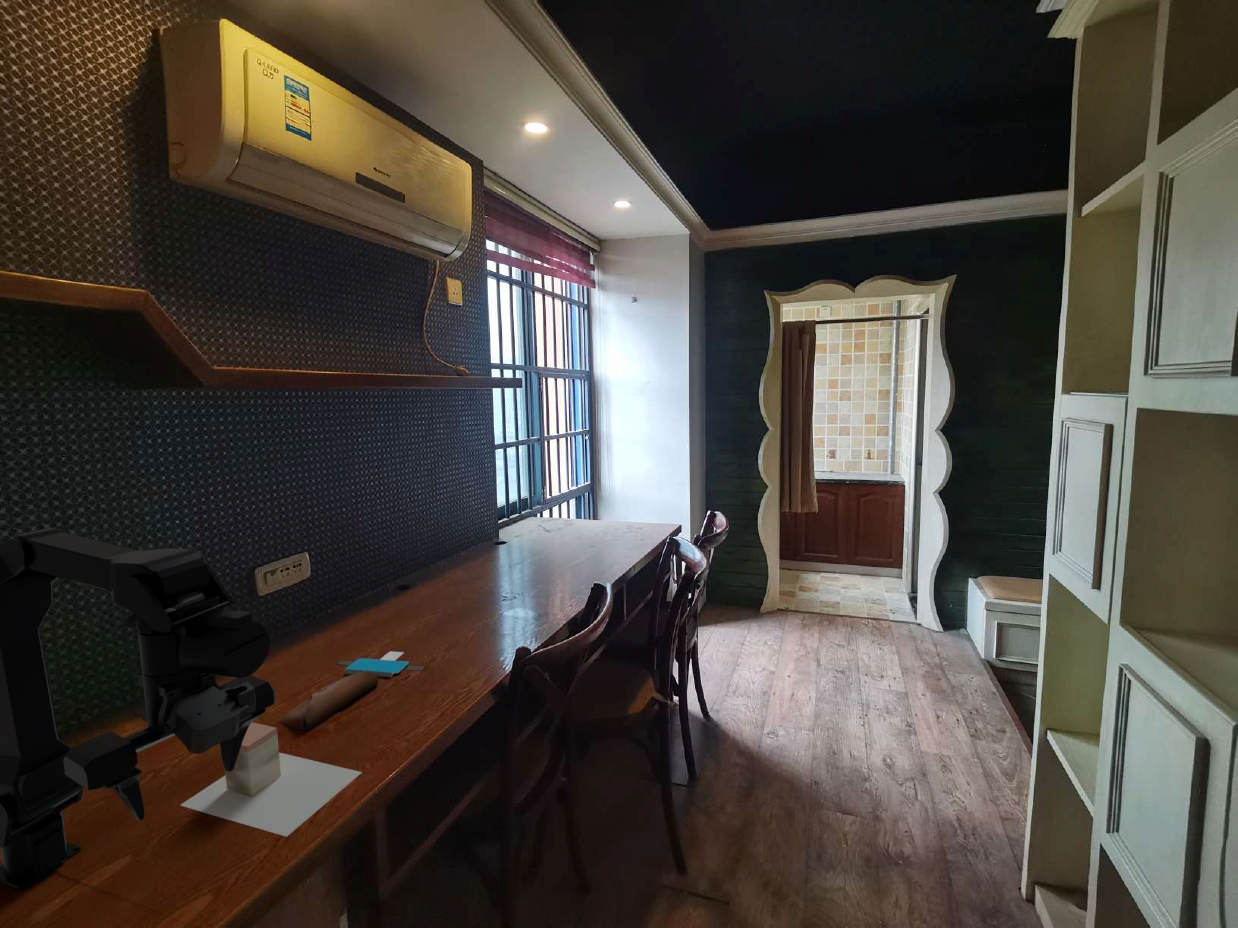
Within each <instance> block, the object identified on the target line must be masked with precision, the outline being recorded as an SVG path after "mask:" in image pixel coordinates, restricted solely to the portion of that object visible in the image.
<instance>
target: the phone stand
mask: <svg viewBox="0 0 1238 928" xmlns="http://www.w3.org/2000/svg"><path fill="white" fill-rule="evenodd" d="M403 654H405V652H404V651H402V652H401V651H388V652H387V653H386V654H384V656H382V657H380V659H377V658H374V659H373V658H363V657H362V658H357V659H356V660H355V661H347V660H346V661H345V660H340V661H339V662H338V663H337V665H342V666H343V665H345V666H347V667H346V668H345V669H344V672H345V675H353V674H356V673H360V672H364V671H372V672H374V673H375V674H376V675H377V677H382V678H384V677H385V678H393V675H394V674H395V675H398V674H399V673H403V672H404V671H407V670H408V671H413V670H414V671H422V670H423V669H425V666H417V665H416V666H415V665H409V663H410V661H404V660H398V659H399V658H400V657H401V656H402V655H403Z"/></svg>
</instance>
